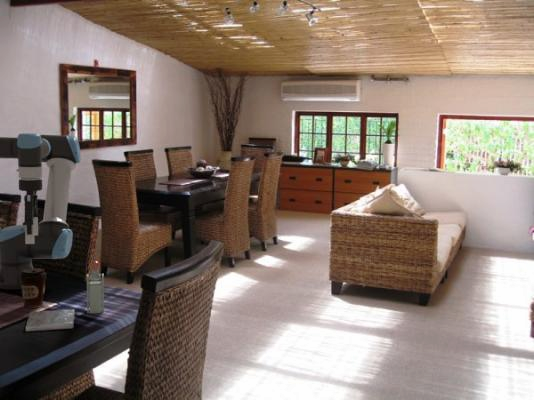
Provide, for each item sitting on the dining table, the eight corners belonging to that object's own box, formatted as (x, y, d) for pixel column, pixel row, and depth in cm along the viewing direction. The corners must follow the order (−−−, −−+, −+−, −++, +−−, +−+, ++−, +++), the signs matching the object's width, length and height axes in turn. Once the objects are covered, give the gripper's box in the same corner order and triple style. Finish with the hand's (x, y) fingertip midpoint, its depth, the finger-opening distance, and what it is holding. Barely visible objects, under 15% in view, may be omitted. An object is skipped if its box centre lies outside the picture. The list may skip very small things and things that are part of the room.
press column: (87, 309, 203) (86, 273, 201) (103, 308, 205) (103, 273, 203) (87, 313, 199) (86, 277, 198) (104, 312, 201) (103, 276, 199)
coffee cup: (37, 310, 201) (36, 274, 199) (15, 308, 202) (14, 272, 200) (51, 303, 209) (50, 267, 207) (30, 300, 211) (29, 266, 209)
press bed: (30, 316, 195) (30, 311, 195) (74, 313, 199) (74, 309, 199) (25, 331, 182) (25, 326, 182) (72, 328, 186) (72, 323, 186)
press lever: (89, 283, 200) (89, 275, 202) (100, 282, 201) (100, 274, 203) (89, 268, 188) (89, 260, 189) (100, 268, 189) (100, 259, 190)
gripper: (22, 174, 210) (24, 232, 213) (13, 183, 186) (15, 247, 189) (45, 174, 212) (46, 231, 215) (38, 183, 188) (40, 247, 191)
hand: (32, 239), depth 202 cm, fingers open, 13 cm apart
